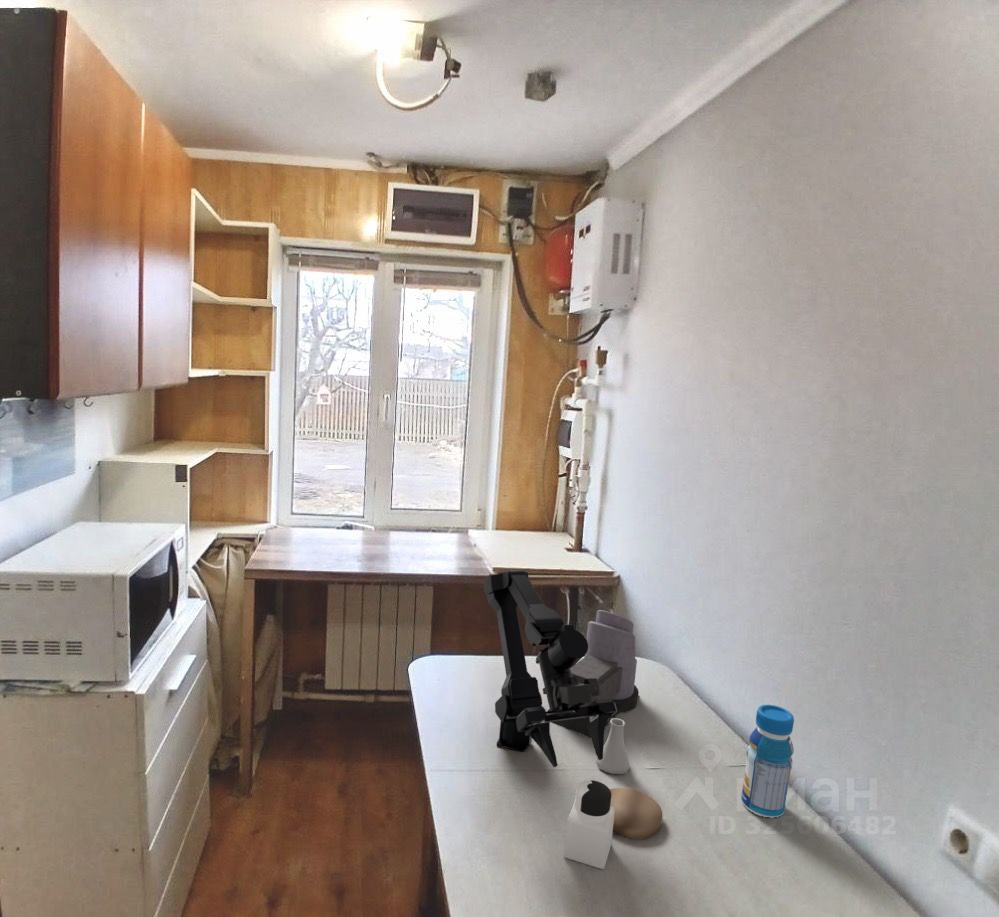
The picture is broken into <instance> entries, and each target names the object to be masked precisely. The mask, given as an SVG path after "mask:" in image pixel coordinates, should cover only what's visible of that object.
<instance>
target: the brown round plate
mask: <svg viewBox="0 0 999 917" xmlns="http://www.w3.org/2000/svg"><path fill="white" fill-rule="evenodd" d="M609 789H610V791H611V805H610V807H613V808H615V814H614V823H613V832H612V834H615V835H618V836H620V837H623V838H627V839H631V840H632V839H633V840H645V839H650V838H652V837H654V836H655V835H657V834H658V833H659V832H660V831H661V828H662V823H663V810H662V808H661V806H660V804H659V803H658V802H657V801H656V799H654V798H653V797H652V796H650V795H648V794H646V793H644V792H642V791H640V790H636V789H634V788H628V787H614V788H609Z"/></svg>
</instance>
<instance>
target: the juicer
mask: <svg viewBox="0 0 999 917" xmlns="http://www.w3.org/2000/svg"><path fill="white" fill-rule="evenodd" d="M595 616H596V617H595V621H593V620H590V621H589V622H588V623H587V632H586V640H587V642H588V651H587V653H586V654H585V655H584V656H583V657H582V658H581V659H580V660H579V661H578V662H577V663H576V664H575V665H574V666H573V667H571V668H570V669H571V673H572V677H576V679H577V681H578V684H584V679H587V678H596V679H597V682H598V685H599V690H600V694H599V696H592V701H594V700H600V699H608V698H610V699H611V700H612V701H614V703H615V705H616V708H617V713H615V714H614V715H613V716H612V718H616V717H617V716H618V715H619V714H624V713H629V712H631V711H634V709H636V708H637V706H638V700H639V699H640V698H641V696H640V694H639V693H640V692H639V688H638V687H637V685H636V684H635V682H636V672H637V664H638V660H637V659H636V637H635V636H636V635H635V634H634V633H633V632H634V622H632V621H631V620H630V619H628V618H626V617H624V616H622V615H619V614H617V613H614V612H611V611H606V610H602V609H599V610H597V611H596V615H595ZM589 704H590V703H585V704H584V705H580V707H587V706H588V705H589ZM571 714H575V712H574V713H571ZM562 715H563V714H562ZM562 715H561V716H562ZM558 716H560V715H558ZM612 718H611V719H612ZM611 719H610V720H611ZM610 720H609V721H607V723H606V726H608V725H609V724H610ZM551 723H552V724H554V725H557V726H558V727H561V728H564V729H567V730H568V731H572V732H575V733H577V734H579V735H581V736H584V737H587V738H590V739H591V737H590V734H589V730H588V727H587V725H588V724H589V723H590V721H588V720H587V719H586V717H585V718H577V719H569V720H561V721H553V722H550V724H551ZM606 726H605V728H606Z"/></svg>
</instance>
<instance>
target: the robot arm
mask: <svg viewBox="0 0 999 917" xmlns="http://www.w3.org/2000/svg"><path fill="white" fill-rule="evenodd" d="M483 592H484V593H485V595H486V600H487V603H488V604H489V606H490V607H491V608H492V610H494V612H495V614H496V616H497V624H498V629H499V638H500V643H501V652H502V656H503V662H504V668H505V669H504V670H505V680H504V681H503V684H502V686H501V690H500V691H501V696H500V698H499V699H498V700H496V701H495V703H494V707H495V708H494V710H495V711H494V712H495V715H497V716H496V717H497V718H498V719H499V720H500V723H499V724H500V726H499V737H498V739H497V741H496V746H498V747H502V748H507V749H509V750H514V751H519V752H523V753H524V752H526V750H527V748H528V747H529V746H530V744H531V743H532V740H533V741H534V742H535V743H536V745H537V746H538V747H539V748H540V749H541V751H542V752H543V754H544V755H545V757H546V758H547V760H548V761H549V762H550V764H551V766H552V767H553V768H556V767H557V766H558V760H557V755H556V752H555V748H554V747H555V746H554V745H553V744H554V743H553V740H552V737H551V731H550V730H551V729H550V728H551V727H550V726H551V722H553V721H561V720H569V719H577V718H585V717H586V719H587V720H588V721H590V723H589V724H588V725H587V727H588V730H589V734H590V737H591V738H590V740H591V743H592V747H593V750H594V753H595V755H596V757H597V758H598V760H602V759H603V747H604V745H605V743H604V742H605V741H604V740H605V730H606V727H605V726H606V723H607V721H609V720H610V719H611V718H612V716H613V715H614V714H615V713H617V708H616V705H615V703H614V701H612V700H611V699H610V698H608V699H600V700H594V701H592V696H599V694H600V690H599V685H598V682H597V679H596V678H587V679H584V684H578V681H577V679H576V677H572V673H571V669H570V668H571V667H573V666H574V665H575V664H576V663H578V662H579V661H580V660H582V659H583V658H584V657H585V654H586V653H587V651H588V642H587V638H586V637H585V636H584V635H583V634H582V633H581V632H580V631H578V630H576V629H575V627H574V624H573V623H571V624H566V622H565V621H564V619H563V618H562V616H561V615H560V614H559V613H558V612H557V611H556V610H554V609H553V608H551V607H548V606H547V605H545V602H544V601H543V600H542V598H541V597H540V595H539V593H538V591H537V590H536V588H535V587H534V585H533V584H532V582H531V581H530V578H529V574H528V571H527V570H524V569H507V570H505V571H503V572H500V573H490V574H489V575H488V576H487V577H486V578H485V579H484V581H483ZM517 608H519V610H520V612H521V613H522V615H523V617H524V619H525V621H526V622H525V626H524V627H525V628H524V632H525V635H526V639H527V641H528V642H529V644H530V645H531V646H532V647H540V646H541V647H542V646H544V647H545V646H546V647H545V648H543V649H538V650H539V651H538V654H537V656H536V658H535V663H536V664H538V665H539V667H540V668H539V669H540V673H541V677H542V683H543V686H544V687H543V688H542V692H543V695H546V697H547V698H546V699H547V703H548V706H549V707H548V709H547V711H546V709H545V707H544V706H543V699H542V695H541V692H540V689H539V681H538V679H537V677H535V676H533V677H532V675H531V674H530V672H528V668H527V661H526V656H525V650H524V643H523V638H522V632H521V627H520V620H519V615H518V609H517ZM585 703H590V704H589V705H588V706H587V707H580V705H584V704H585ZM574 712H575V714H571V713H574ZM562 714H563V715H562ZM558 715H560V716H558ZM561 715H562V716H561Z"/></svg>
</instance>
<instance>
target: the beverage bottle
mask: <svg viewBox="0 0 999 917" xmlns="http://www.w3.org/2000/svg"><path fill="white" fill-rule="evenodd" d="M794 723H795V718H794V715H793V714H792V712H791V711H789V710H788V709H785V708H784V707H781V706H778V705H773V704H762V705H760V706H759V707H758V708H757V710H756V716H755V725H756V727H755V729H754V730H752V732H751V733H750V736H749V739H748V742H749V745H748V746H747V748H746V753H745V754H746V755H745V756H746V762H745V770H744V777H743V784H742V790H741V796H740V797H741V798H740V800H741V803H742V804H743V806H744V807H745V808H746V809H747V810H748V811H749V810H750V811H749V812H750V813H752V812H753V814H755V815H756V816H758V817H762V816H763V817H762V818H765V817H770V818H769V819H775V818H774V817H777V818H780V817H781V815H782V816H783V814H784V813H785V810H786V800H787V794H788V788H789V783H790V782H789V781H790V776H791V770H792V768H793V757H792V756H793V754H794V753H795V752H794V750H795V749H794V744H793V741H792V738H791V734H792V733H793V729H794ZM779 816H780V817H779Z"/></svg>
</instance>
